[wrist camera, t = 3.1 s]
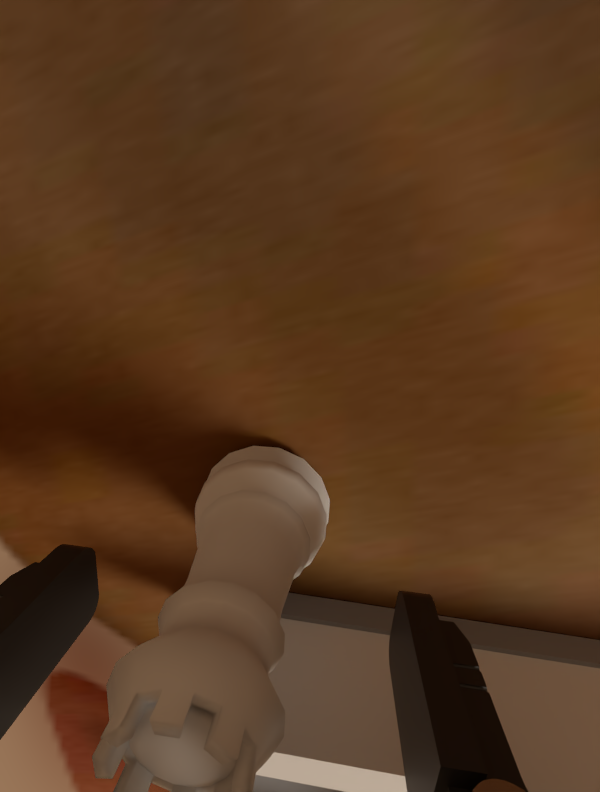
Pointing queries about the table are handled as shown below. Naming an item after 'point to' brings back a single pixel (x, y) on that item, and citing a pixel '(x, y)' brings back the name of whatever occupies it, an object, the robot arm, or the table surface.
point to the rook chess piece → (218, 635)
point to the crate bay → (375, 708)
